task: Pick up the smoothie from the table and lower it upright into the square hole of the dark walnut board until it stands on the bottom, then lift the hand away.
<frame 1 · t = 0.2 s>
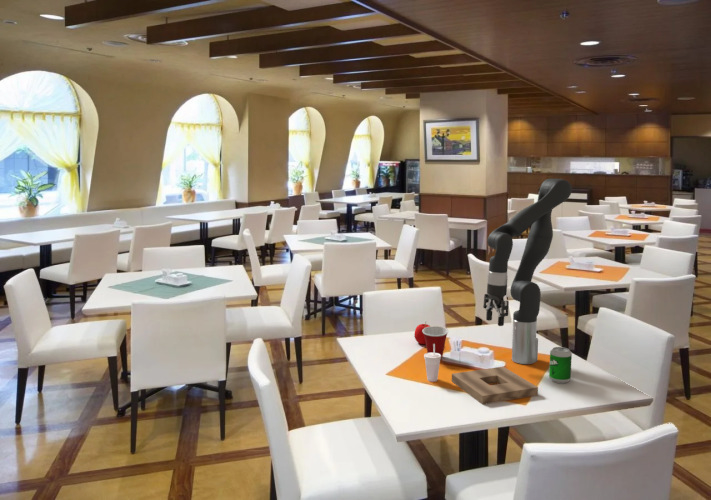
hand: (494, 322, 236), 17 cm above the table, tool pointing down, fingers open, 8 cm apart
soda can: (559, 380, 222), on the table
fruit: (424, 343, 267), on the table
smoothie: (432, 380, 224), on the table
socket board: (493, 388, 215), on the table
plastic cup: (435, 358, 248), on the table
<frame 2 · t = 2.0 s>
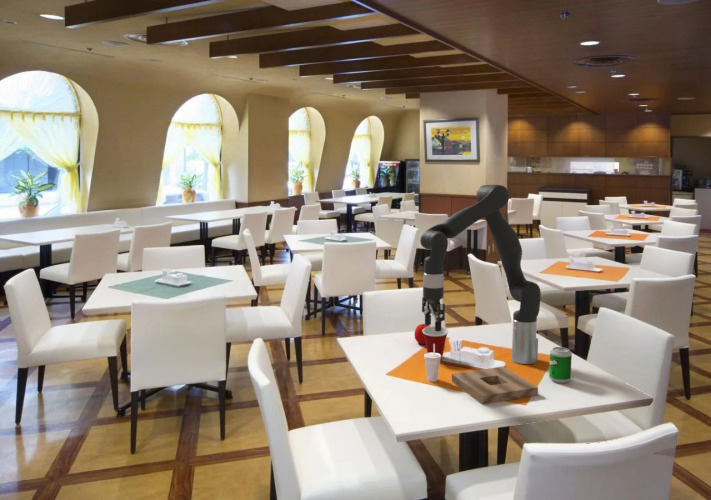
hand: (432, 327, 220), 20 cm above the table, tool pointing down, fingers open, 8 cm apart
nothing on the table moved.
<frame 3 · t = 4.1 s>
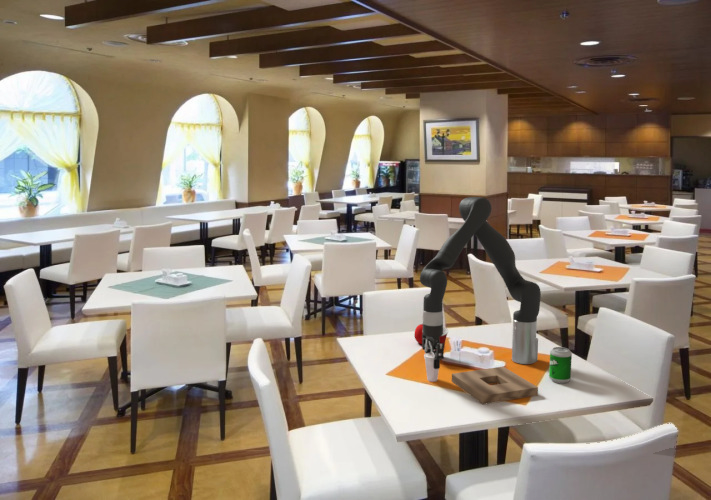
hand: (432, 365, 223), 6 cm above the table, tool pointing down, fingers closed on smoothie, 6 cm apart
smoothie: (432, 380, 224), on the table, touching gripper
everything else where it was.
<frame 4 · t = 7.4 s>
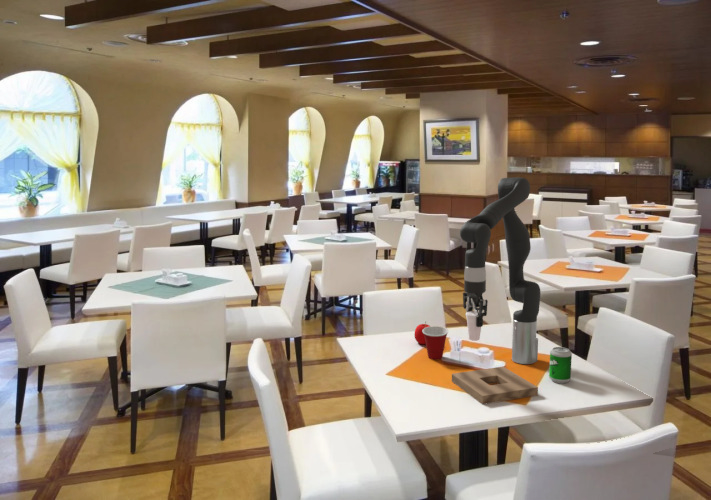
hand: (474, 323, 214), 23 cm above the table, tool pointing down, fingers closed on smoothie, 6 cm apart
smoothie: (474, 339, 215), point 17 cm above the table, touching gripper
everything else where it was.
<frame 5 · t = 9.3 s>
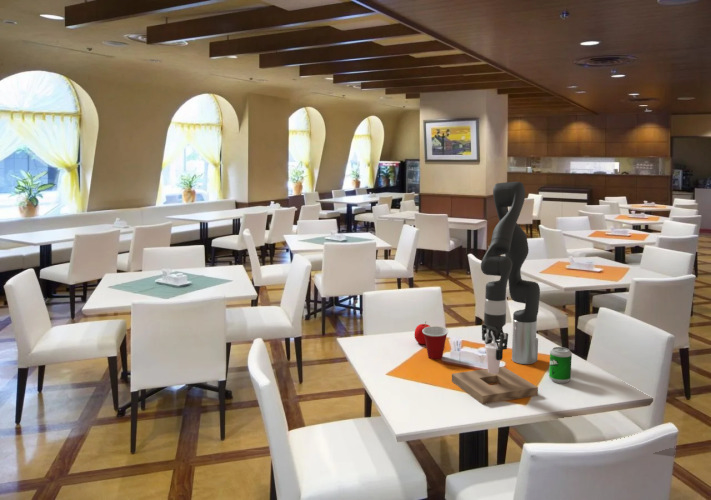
hand: (493, 356, 213), 12 cm above the table, tool pointing down, fingers closed on smoothie, 6 cm apart
smoothie: (493, 372, 214), point 6 cm above the table, touching gripper
everything else where it was.
when the fingers open (7 cm above the table, at t = 10.9 s): smoothie stays where it is, resting in socket board.
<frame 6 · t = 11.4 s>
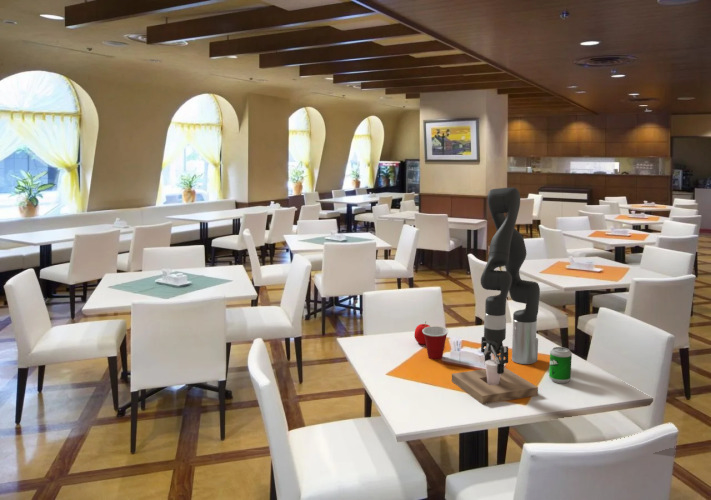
hand: (493, 369, 214), 7 cm above the table, tool pointing down, fingers open, 8 cm apart
smoothie: (493, 388, 215), resting in socket board
everything else where it was.
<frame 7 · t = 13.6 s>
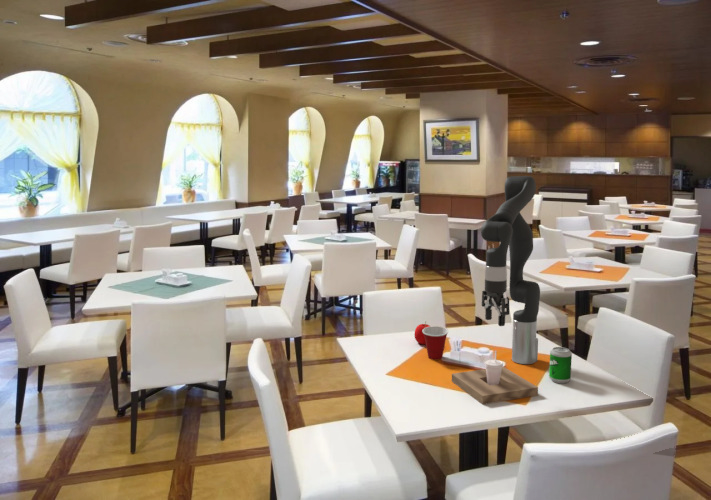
hand: (494, 322, 212), 24 cm above the table, tool pointing down, fingers open, 8 cm apart
nothing on the table moved.
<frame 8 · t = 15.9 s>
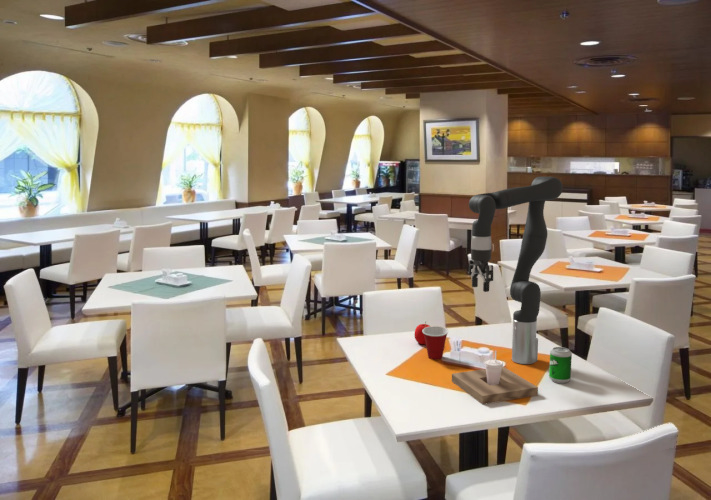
hand: (480, 289, 229), 32 cm above the table, tool pointing down, fingers open, 8 cm apart
nothing on the table moved.
at the end: smoothie 0.2 cm off-centre on the socket board, point 0.0 cm above the socket board's base; smoothie tilted 0°; the gripper is holding nothing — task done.
